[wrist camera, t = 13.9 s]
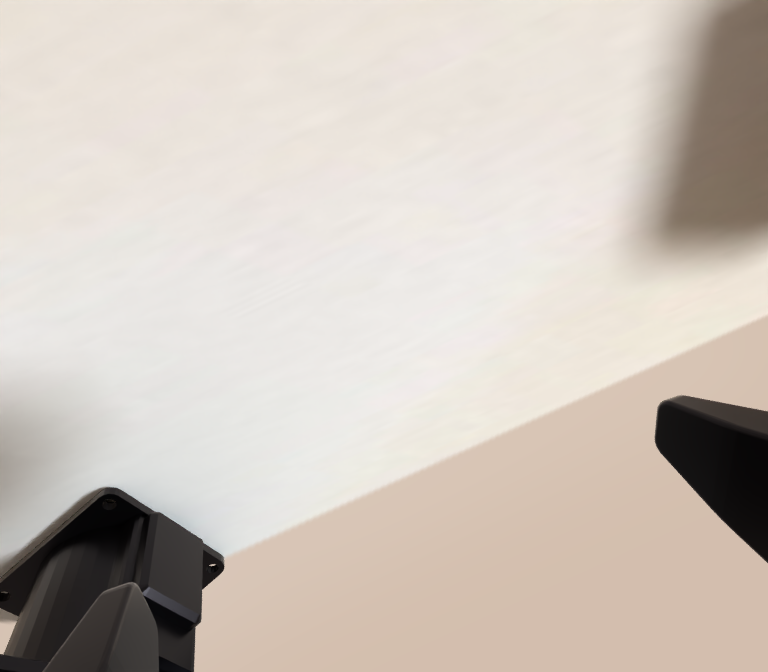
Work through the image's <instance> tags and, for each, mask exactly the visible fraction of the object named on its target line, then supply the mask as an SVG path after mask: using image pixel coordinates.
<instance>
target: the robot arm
mask: <svg viewBox="0 0 768 672" xmlns="http://www.w3.org/2000/svg"><path fill="white" fill-rule="evenodd" d="M655 443H656V446H657V448H658V450H659V451H660V453H661V454H662V455H663V456H664V457H665V458H666V459H667V460H668V462H669V463H670V464H671V465H672V466H673V467H674V468H675V469H676V470H677V471H678V473H679V474H680V475H681V476H682V477H683V478H684V479H685V480H686V481H687V483H688V484H689V485H690V486H691V487H692V488H693V489H694V490H695V491H696V492H697V493H698V495H699V496H700V497H701V498H702V499H703V500H704V501H705V502H706V503H707V505H708V506H709V507H710V508H711V509H712V510H713V511H714V512H715V513H716V514H717V515H718V516H719V517H720V518H721V519H722V520H723V521H724V522H725V523H726V524H727V525H728V526H729V527H730V528H731V529H732V530H733V531H734V532H735V533H736V534H737V535H738V536H739V537H740V538H742V539H743V540H744V541H745V542H746V543H747V544H748V545H749V546H750V547H751V548H752V549H753V550H754V551H755V552H756V553H758V554H759V555H760V556H761V557H762V558H763V559H764V560H765V561H766V562H767V563H768V411H762V410H757V409H752V408H747V407H742V406H736V405H731V404H726V403H720V402H715V401H710V400H705V399H700V398H695V397H690V396H676V397H673V398H670V399H667V400H664V401H662V402H661V403H660V404H659V406H658V409H657V419H656V429H655ZM107 499H113V500H115V501H116V502H115V503H107V502H106V501H105V500H107ZM211 564H217V565H215V566H209V565H211ZM223 570H224V557H223V556H222V555H221V554H219V553H218V552H216V551H215V550H213V549H212V548H210V547H209V546H207V545H206V544H204V543H203V541H202V539H200V538H199V537H197V536H196V535H194V534H192V533H191V532H189V531H188V530H186V529H185V528H183V527H182V526H180V525H179V524H177V523H175V522H174V521H172V520H171V519H169V518H168V517H166V516H165V515H163V514H162V513H160V512H154V511H153V510H151V509H150V508H148V507H147V506H145V505H144V504H142V503H140V502H139V501H137V500H136V499H134V498H133V497H131V496H130V495H128V494H127V493H125V492H123V491H122V490H120V489H118V488H106V489H104V490H102V491H101V492H100V493H98V494H97V495H96V496H95V497H94V498H93V499H91V500H90V501H89V502H88V503H87V504H86V505H85V506H83V507H82V508H81V509H80V510H79V511H78V512H76V513H75V514H74V515H73V516H72V517H71V518H69V519H68V520H67V521H66V522H65V523H64V524H63V525H61V526H60V527H59V528H58V529H57V530H56V531H54V532H53V533H52V534H51V535H50V536H49V537H47V538H46V539H45V540H44V541H43V542H42V543H41V544H39V545H38V546H37V547H36V548H35V549H34V550H32V551H31V552H30V553H29V554H28V555H27V556H25V557H24V558H23V559H22V560H21V561H20V562H19V563H17V564H16V565H15V566H14V567H13V568H12V569H10V570H9V571H8V572H7V573H6V574H5V575H3V576H2V577H1V578H0V608H1V609H4V610H6V611H8V612H10V613H12V614H15V615H17V616H19V618H18V620H17V623H16V625H15V628H14V630H13V633H12V635H11V638H10V640H9V642H8V645H7V648H6V650H5V652H4V655H2V654H0V672H194V653H195V627H196V626H197V625H198V624H199V623H200V622H201V612H202V589H204V588H205V587H206V586H207V585H208V584H209V583H210V582H212V581H213V580H214V579H215V578H216V577H217V576H219V575H220V574H221V573H222V571H223ZM2 591H5V592H8V593H6V594H5V593H2Z"/></svg>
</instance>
